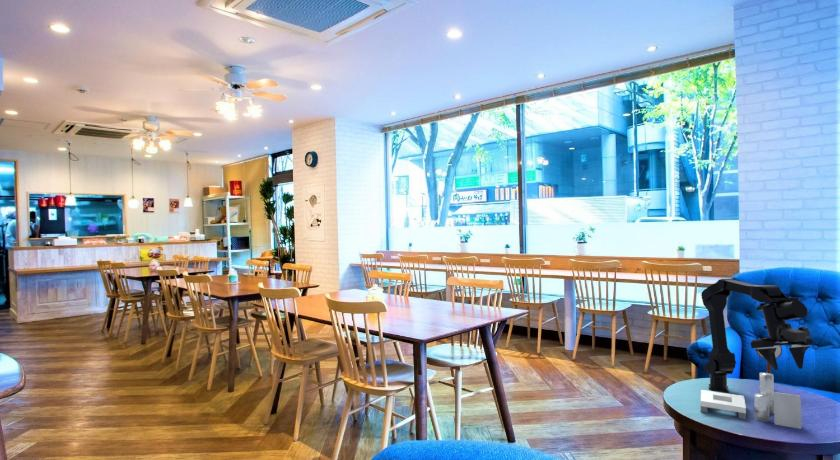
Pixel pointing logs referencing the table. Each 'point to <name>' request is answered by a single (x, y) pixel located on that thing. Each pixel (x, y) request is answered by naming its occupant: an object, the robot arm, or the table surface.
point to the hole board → (723, 402)
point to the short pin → (761, 407)
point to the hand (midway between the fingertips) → (788, 369)
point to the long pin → (767, 388)
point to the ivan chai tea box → (787, 410)
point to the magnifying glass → (777, 353)
